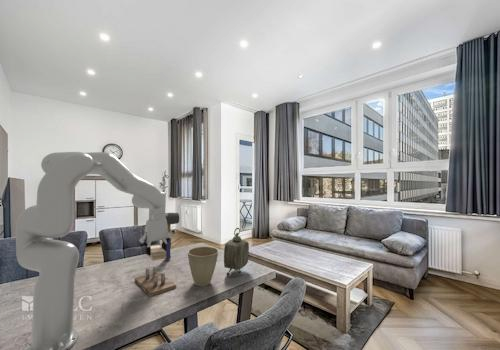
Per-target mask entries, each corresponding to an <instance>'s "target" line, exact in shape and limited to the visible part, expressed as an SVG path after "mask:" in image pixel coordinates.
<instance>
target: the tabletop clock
mask: <svg viewBox="0 0 500 350" xmlns="http://www.w3.org/2000/svg"><path fill="white" fill-rule="evenodd" d="M237 230H238V232H236V231H237ZM240 233H241V228H239V227H237V228H235V229H234V232H233V235H234V236H233V237H232V239H228V241H227V242H225V244H224V248H223V266H224V268H227V269H229V270H228V272H226V276H228V275H229V276H230V273H231V271H232V270H237V271H238V274H239V273H241V274H242V271H241V269H243V268H245V266H246V265H247V264H248V263H249V254H250V253H249V251H250V250H249V249H250V246H249V245H250V243H249V241H247V240H245V239H242V238H241V236H239V235H240Z"/></svg>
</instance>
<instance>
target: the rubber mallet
mask: <svg viewBox="0 0 500 350" xmlns="http://www.w3.org/2000/svg"><path fill="white" fill-rule="evenodd" d="M165 213H166V214H168V216H166V218H165V219H166V220H167V226H168V232H170V233H171V225H175V224H176V225H177V224H179V222H180V214H179V212H165ZM171 246H172V237H171V238H170V240H169V241H168V242H167V244H166V250H165V251H166V258H165V259H164V261H166V262H168V261H170V260H171V257H172V255H171Z"/></svg>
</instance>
